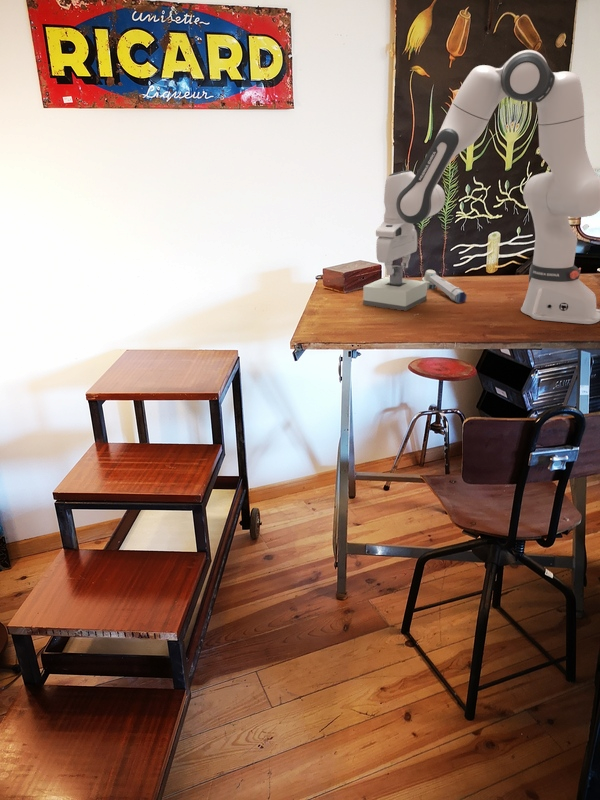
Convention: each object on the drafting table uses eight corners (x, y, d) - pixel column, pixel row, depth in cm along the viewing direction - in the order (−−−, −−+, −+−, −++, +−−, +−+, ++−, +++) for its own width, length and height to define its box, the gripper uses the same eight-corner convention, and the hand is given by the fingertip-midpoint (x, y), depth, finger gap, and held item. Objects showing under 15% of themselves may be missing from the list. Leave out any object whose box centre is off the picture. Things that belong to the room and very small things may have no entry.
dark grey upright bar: (403, 297, 194) (405, 266, 190) (398, 299, 191) (399, 268, 187) (392, 295, 196) (393, 264, 192) (386, 298, 194) (387, 267, 189)
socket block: (426, 299, 196) (427, 281, 193) (405, 311, 185) (405, 292, 182) (385, 294, 204) (386, 276, 202) (363, 304, 193) (363, 286, 191)
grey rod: (454, 292, 189) (420, 266, 209) (451, 312, 192) (418, 284, 213) (469, 291, 190) (434, 264, 210) (466, 310, 194) (431, 283, 214)
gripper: (405, 221, 194) (404, 264, 200) (372, 231, 180) (372, 277, 185) (423, 222, 191) (421, 265, 196) (391, 232, 176) (390, 279, 182)
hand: (397, 271), depth 191 cm, fingers open, 8 cm apart
